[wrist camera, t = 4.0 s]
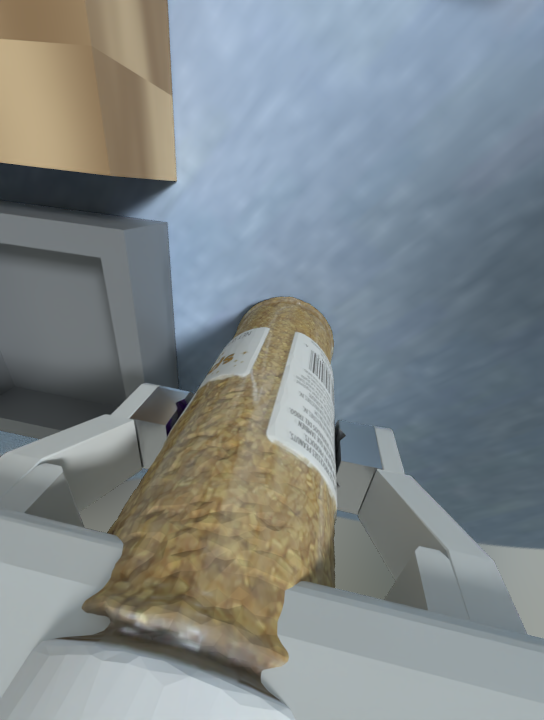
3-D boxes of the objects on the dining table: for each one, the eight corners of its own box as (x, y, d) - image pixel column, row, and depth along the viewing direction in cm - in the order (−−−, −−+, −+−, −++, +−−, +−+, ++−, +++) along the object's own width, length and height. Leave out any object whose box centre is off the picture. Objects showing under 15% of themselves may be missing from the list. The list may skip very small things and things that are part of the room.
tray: (167, 222, 12) (123, 230, 10) (181, 424, 18) (155, 463, 15) (-68, 191, 13) (-164, 190, 11) (14, 391, 19) (-36, 422, 16)
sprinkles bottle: (233, 294, 13) (-448, 1007, 2) (338, 294, 12) (458, 1643, 1) (243, 381, 15) (-18, 948, 4) (333, 385, 15) (347, 1113, 3)
